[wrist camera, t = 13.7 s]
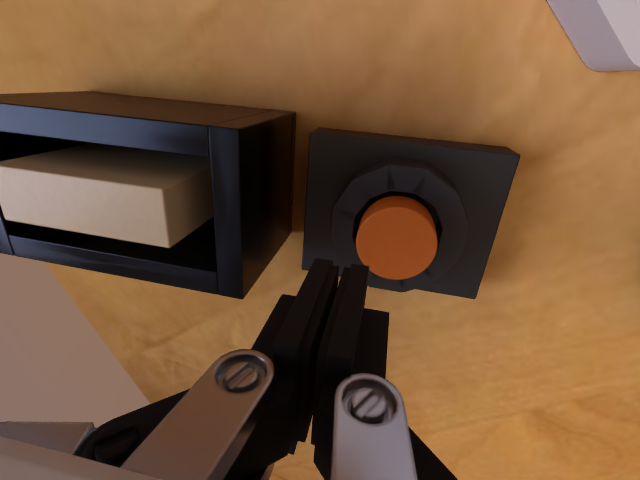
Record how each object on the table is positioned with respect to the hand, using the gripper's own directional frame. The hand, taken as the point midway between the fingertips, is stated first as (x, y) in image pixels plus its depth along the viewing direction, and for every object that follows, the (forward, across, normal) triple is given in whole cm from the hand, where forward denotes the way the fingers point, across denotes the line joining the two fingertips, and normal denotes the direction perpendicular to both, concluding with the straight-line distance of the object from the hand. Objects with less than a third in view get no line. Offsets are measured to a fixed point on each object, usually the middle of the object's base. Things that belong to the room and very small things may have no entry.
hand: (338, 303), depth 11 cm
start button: (+7, -2, 0) cm, 8 cm away
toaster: (+11, +11, -1) cm, 16 cm away
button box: (+11, -2, 0) cm, 11 cm away
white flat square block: (+10, +11, -1) cm, 15 cm away
